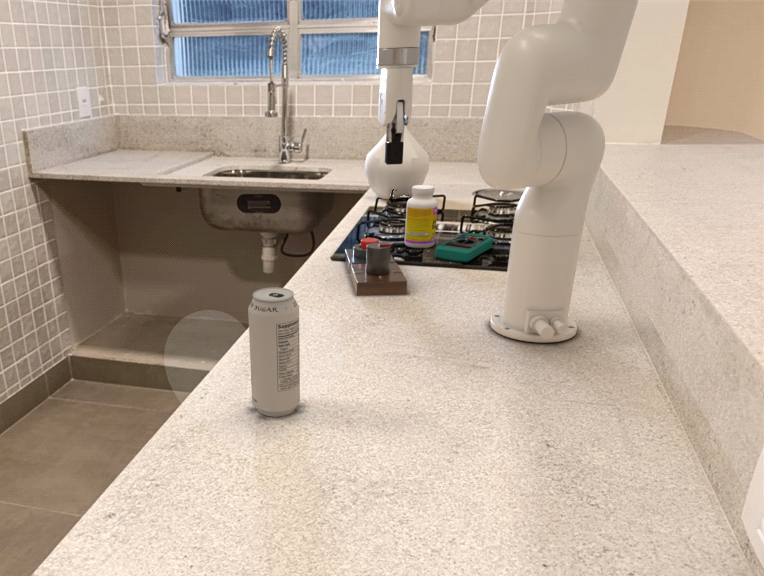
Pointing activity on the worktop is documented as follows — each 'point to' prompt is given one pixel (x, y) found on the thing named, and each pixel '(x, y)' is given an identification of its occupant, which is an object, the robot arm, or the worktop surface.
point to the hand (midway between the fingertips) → (393, 163)
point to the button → (368, 242)
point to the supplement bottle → (421, 217)
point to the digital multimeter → (464, 247)
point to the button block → (358, 256)
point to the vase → (396, 169)
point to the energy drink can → (274, 351)
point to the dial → (378, 258)
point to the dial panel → (378, 281)
